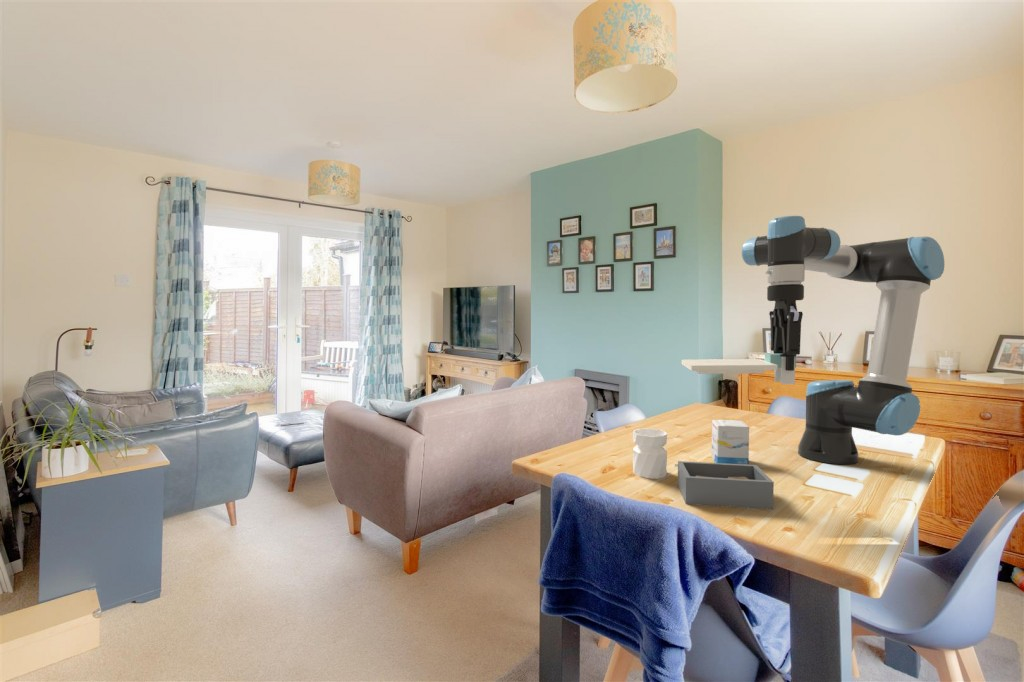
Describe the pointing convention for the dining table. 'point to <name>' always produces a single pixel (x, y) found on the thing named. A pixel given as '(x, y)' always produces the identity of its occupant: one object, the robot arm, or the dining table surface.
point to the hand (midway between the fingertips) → (784, 382)
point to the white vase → (650, 453)
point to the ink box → (730, 442)
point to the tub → (725, 485)
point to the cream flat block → (734, 365)
